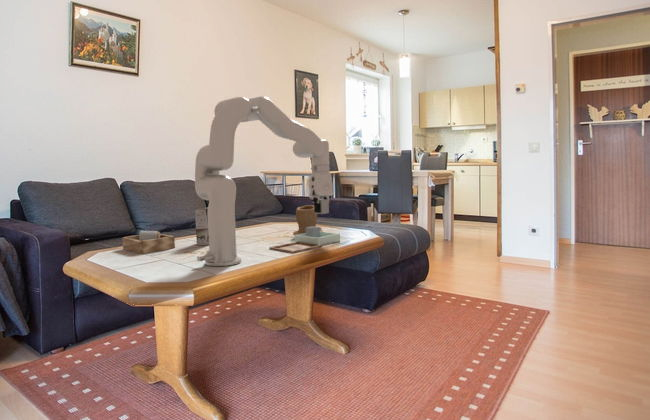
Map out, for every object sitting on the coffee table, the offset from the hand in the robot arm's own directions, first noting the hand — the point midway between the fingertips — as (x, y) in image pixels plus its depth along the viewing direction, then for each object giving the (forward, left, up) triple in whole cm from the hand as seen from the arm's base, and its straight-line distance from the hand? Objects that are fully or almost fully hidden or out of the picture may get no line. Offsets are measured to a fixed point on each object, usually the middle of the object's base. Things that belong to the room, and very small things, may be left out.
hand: (321, 211), depth 189 cm
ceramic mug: (-50, +56, -15) cm, 77 cm away
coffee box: (-30, +44, -15) cm, 55 cm away
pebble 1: (0, 0, -1) cm, 1 cm away
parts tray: (-16, 0, -14) cm, 22 cm away
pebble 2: (0, +6, -13) cm, 14 cm away
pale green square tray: (0, +3, -14) cm, 15 cm away
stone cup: (+12, +20, -15) cm, 27 cm away
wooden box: (-52, +54, -14) cm, 76 cm away
